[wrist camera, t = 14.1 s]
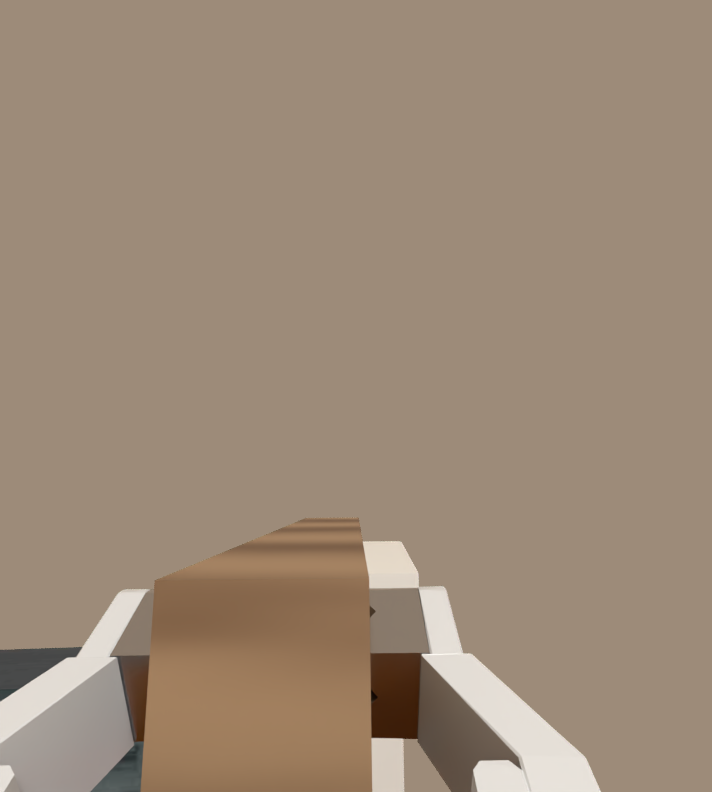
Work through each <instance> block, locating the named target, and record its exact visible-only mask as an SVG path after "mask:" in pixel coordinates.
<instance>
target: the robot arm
mask: <svg viewBox="0 0 712 792" xmlns="http://www.w3.org/2000/svg"><path fill="white" fill-rule="evenodd" d="M153 600H154V589H151V590H148V589H124V590H123V591H121V592H119V593H118V594H117V595H116V597H115V599H114V600H113V602H112V603H111V605H110V606H109V608H108V609H107V611H106V612H105V614H104V615H103V617H102V618H101V620H100V621H99V623H98V625H97V626H96V628H95V629H94V631H93V632H92V634H91V635H90V637H89V638H88V640H87V641H86V643H85V644H84V646H83V647H82V649H81V650H80V652H79V653H78V655H77V656H76V657H74V658H66V659H65V660H63V661H61V662H60V663H58V664H57V665H55V666H54V667H52V668H51V669H49V670H48V671H46V672H45V673H43V674H42V675H40V676H39V677H37V678H36V679H34V680H33V681H31V682H29V683H28V684H26V685H25V686H23V687H22V688H20V689H19V690H17V691H16V692H14V693H13V694H11V695H10V696H8V697H7V698H5V699H4V700H2V701H1V702H0V792H91V790H92V789H93V788H94V787H95V786H96V785H97V784H98V783H99V782H100V781H101V780H102V779H103V778H104V777H105V776H106V775H107V774H108V772H109V771H110V770H111V769H112V768H113V767H114V766H115V765H116V764H117V763H118V762H119V761H120V760H121V759H122V758H123V757H124V755H125V754H126V753H127V752H128V751H129V750H130V749H131V748H132V747H133V746H134V742H143V741H144V733H145V718H146V703H147V689H148V674H149V659H150V644H151V629H152V614H153ZM369 602H370V672H371V738H398V739H418V743H419V744H420V746H421V747H422V749H423V750H424V752H425V753H426V755H427V756H428V758H429V759H430V761H431V762H432V764H433V765H434V766H435V768H436V770H437V771H438V772H439V774H440V776H441V777H442V778H443V780H444V781H445V783H446V784H447V786H448V787H449V789H450V790H451V792H601V791H600V789H599V786H598V784H597V782H596V780H595V777H594V775H593V773H592V771H591V768H590V766H589V764H588V762H587V759H586V757H585V756H584V755H582V754H581V753H580V752H579V751H578V750H577V749H576V748H575V747H574V746H573V745H571V744H570V743H569V742H568V741H567V740H566V739H565V738H564V737H563V736H562V735H560V734H559V733H558V732H557V731H556V730H555V729H554V728H552V726H550V725H549V724H548V723H547V722H546V721H545V720H544V719H543V718H542V717H541V716H539V715H538V714H537V713H536V712H535V711H534V710H533V709H532V708H531V707H530V706H528V705H527V704H526V703H525V702H524V701H523V700H522V699H521V698H519V697H518V696H517V695H516V694H515V693H514V692H513V691H512V690H511V689H510V688H508V687H507V686H506V685H505V684H504V683H503V682H502V681H501V680H500V679H499V678H498V677H496V676H495V675H494V674H493V673H492V672H491V671H490V670H489V669H488V668H487V667H485V666H484V665H483V664H482V663H480V661H479V660H478V659H477V658H476V657H474V656H473V655H472V654H463V651H462V647H461V644H460V640H459V636H458V632H457V629H456V625H455V621H454V617H453V614H452V610H451V606H450V602H449V599H448V595H447V591H446V589H445V588H444V587H443V586H432V587H417V588H369Z"/></svg>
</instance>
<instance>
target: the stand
mask: <svg viewBox="0 0 712 792" xmlns="http://www.w3.org/2000/svg"><path fill="white" fill-rule="evenodd" d="M363 546H364V552H365V558H366V563H367V569H368V575H369V588H417V587H419V581H418V580H419V578H418V572H417V570H416V568H415V566H414V565H413V563H412V561H411V559H410V557H409V555H408V554H407V552H406V550H405V548H404V546H403V545H402V543H401V541H392V542H391V541H387V542H385V541H383V542H363ZM371 741H372V792H404V760H403V739H398V738H371Z"/></svg>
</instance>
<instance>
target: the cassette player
mask: <svg viewBox="0 0 712 792" xmlns="http://www.w3.org/2000/svg"><path fill="white" fill-rule="evenodd" d="M81 649H82V647H76V648H75V647H74V648H45V649H15V650H0V702H1V701H2V700H4V699H5V698H7V697H8V696H10V695H11V694H13V693H14V692H16V691H17V690H19V689H20V688H22V687H23V686H25V685H26V684H28V683H29V682H31V681H33V680H34V679H36V678H37V677H39V676H40V675H42V674H43V673H45V672H46V671H48V670H49V669H51V668H52V667H54V666H55V665H57V664H58V663H60V662H61V661H63V660H65V659H66V658H74V657H76V656H77V655H78V653H79V652H80V650H81ZM143 748H144V741H143V742H134V746H133V747H132V748H131V749H130V750H129V751H128V752H127V753H126V754H125V755H124V757H123V758H122V759H121V760H120V761H119V762H118V763H117V764H116V765H115V766H114V767H113V768H112V769H111V770H110V771H109V772H108V774H107V775H106V776H105V777H104V778H103V779H102V780H101V781H100V782H99V783H98V784H97V785H96V786H95V787H94V788H93V789H92V790H91V792H141V777H142V763H143Z"/></svg>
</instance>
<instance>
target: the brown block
mask: <svg viewBox="0 0 712 792" xmlns="http://www.w3.org/2000/svg"><path fill="white" fill-rule="evenodd" d="M141 792H372V741H371V672H370V602H369V575H368V569H367V563H366V558H365V552H364V546H363V541H362V535H361V529H360V524H359V518H305V519H303V520H300V521H298V522H295V523H293V524H291V525H288V526H286V527H284V528H281V529H279V530H276V531H274V532H271V533H269V534H266V535H264V536H262V537H259V538H257V539H255V540H252V541H250V542H247V543H245V544H242V545H240V546H237V547H235V548H233V549H230V550H228V551H225V552H223V553H220V554H218V555H216V556H213V557H211V558H208V559H206V560H203V561H201V562H199V563H196V564H194V565H191V566H189V567H186V568H184V569H182V570H179V571H177V572H174V573H172V574H169V575H167V576H165V577H162V578H160V579H157V580H155V585H154V600H153V614H152V629H151V644H150V659H149V674H148V689H147V703H146V718H145V733H144V748H143V763H142V777H141Z"/></svg>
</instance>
